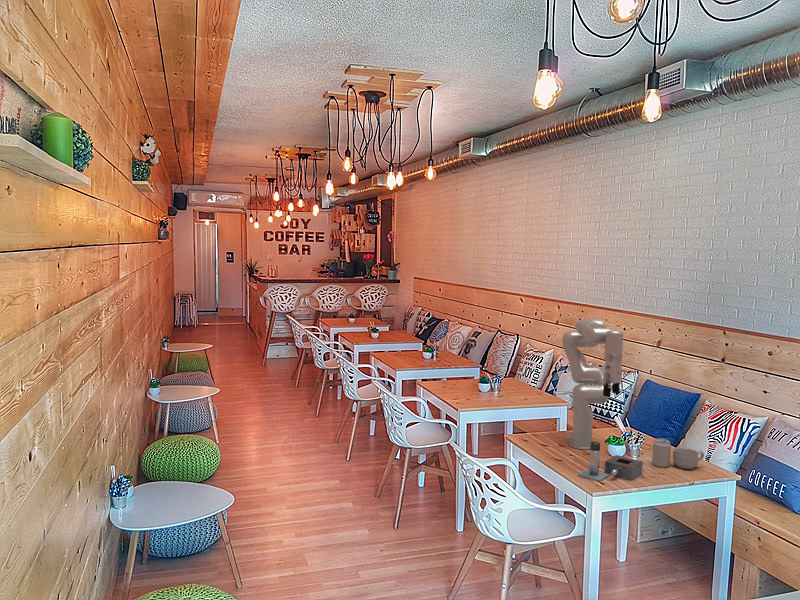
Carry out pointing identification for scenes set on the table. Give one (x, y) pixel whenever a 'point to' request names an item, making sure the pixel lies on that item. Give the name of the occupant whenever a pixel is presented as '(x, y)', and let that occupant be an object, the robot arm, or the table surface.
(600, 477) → the mat
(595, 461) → the grey tall cylinder
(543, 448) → the table surface
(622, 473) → the block
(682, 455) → the teacup
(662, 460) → the can
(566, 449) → the table surface
